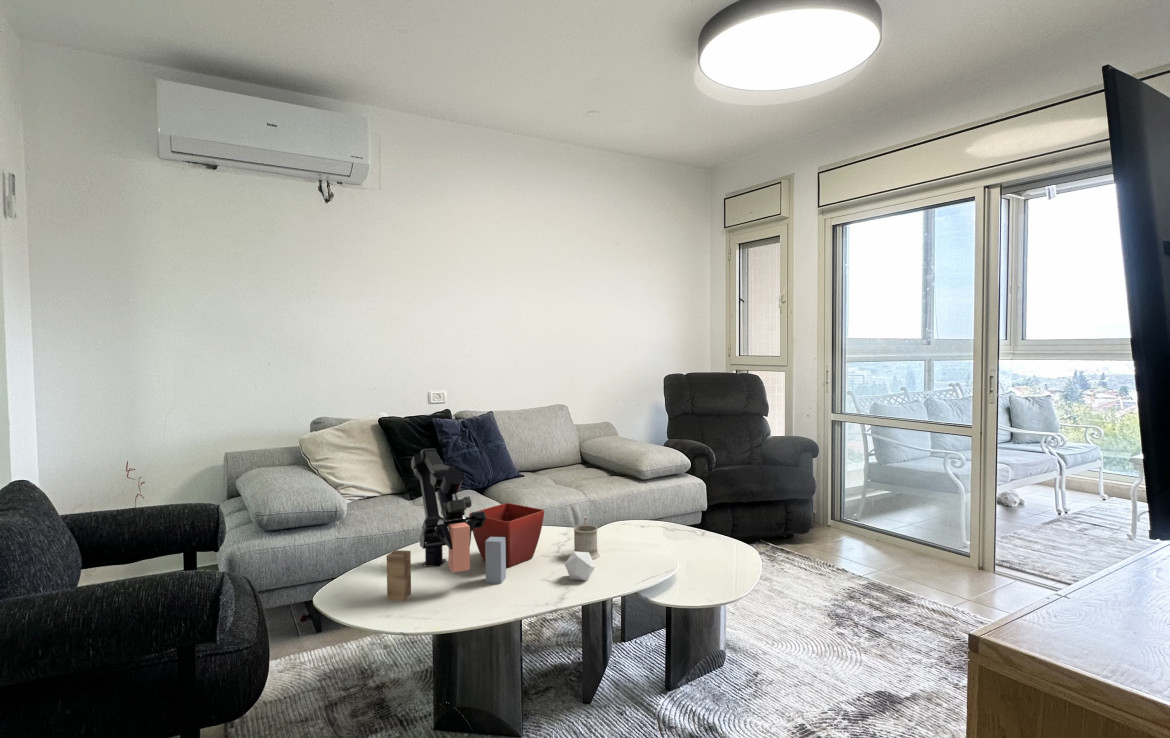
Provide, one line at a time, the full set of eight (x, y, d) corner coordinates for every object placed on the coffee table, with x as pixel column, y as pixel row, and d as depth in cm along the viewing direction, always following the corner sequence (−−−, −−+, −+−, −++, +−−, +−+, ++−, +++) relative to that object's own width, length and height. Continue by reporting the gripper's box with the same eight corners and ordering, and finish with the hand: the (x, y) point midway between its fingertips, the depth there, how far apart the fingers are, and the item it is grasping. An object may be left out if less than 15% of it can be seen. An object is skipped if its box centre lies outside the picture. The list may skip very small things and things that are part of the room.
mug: (599, 560, 208) (599, 525, 208) (571, 560, 208) (570, 525, 208) (599, 547, 223) (599, 514, 223) (573, 547, 223) (572, 515, 223)
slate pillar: (490, 577, 193) (490, 536, 192) (505, 578, 192) (505, 537, 192) (485, 582, 188) (485, 541, 188) (501, 583, 187) (500, 541, 187)
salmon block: (448, 567, 182) (448, 524, 182) (464, 564, 184) (464, 522, 184) (453, 572, 178) (453, 528, 177) (469, 569, 180) (469, 526, 180)
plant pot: (508, 573, 196) (507, 521, 196) (468, 562, 208) (467, 513, 208) (546, 557, 212) (545, 509, 211) (507, 548, 223) (506, 502, 223)
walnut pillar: (395, 593, 179) (394, 550, 179) (411, 594, 179) (410, 550, 179) (387, 600, 175) (386, 555, 174) (403, 601, 174) (402, 556, 174)
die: (598, 577, 193) (584, 548, 198) (599, 572, 185) (585, 542, 190) (574, 589, 191) (561, 560, 196) (574, 584, 184) (560, 554, 188)
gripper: (423, 491, 180) (434, 537, 170) (483, 484, 189) (496, 528, 179) (417, 512, 187) (427, 557, 177) (475, 505, 196) (487, 547, 186)
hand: (460, 547), depth 180 cm, fingers closed on salmon block, 5 cm apart
